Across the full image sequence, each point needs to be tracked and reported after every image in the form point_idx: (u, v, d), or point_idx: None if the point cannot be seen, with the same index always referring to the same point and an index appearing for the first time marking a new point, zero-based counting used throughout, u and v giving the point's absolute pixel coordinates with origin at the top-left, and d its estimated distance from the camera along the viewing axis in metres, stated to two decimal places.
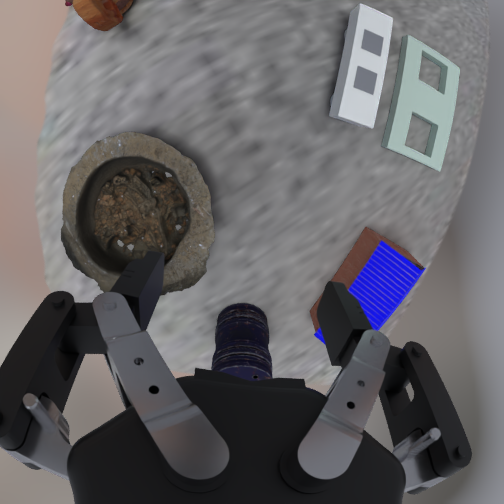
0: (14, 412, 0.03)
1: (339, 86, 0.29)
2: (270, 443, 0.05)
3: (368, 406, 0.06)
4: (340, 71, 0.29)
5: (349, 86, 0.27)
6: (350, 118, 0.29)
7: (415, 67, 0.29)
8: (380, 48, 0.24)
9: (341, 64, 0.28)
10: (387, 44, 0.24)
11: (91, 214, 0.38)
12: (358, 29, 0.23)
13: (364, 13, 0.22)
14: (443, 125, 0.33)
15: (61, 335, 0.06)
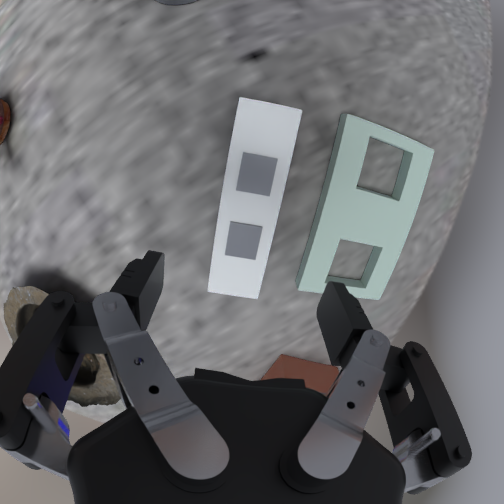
0: (14, 412, 0.03)
1: None
2: (270, 443, 0.05)
3: (368, 406, 0.06)
4: None
5: (219, 254, 0.25)
6: (224, 292, 0.27)
7: (353, 170, 0.26)
8: (270, 181, 0.21)
9: None
10: (285, 169, 0.21)
11: None
12: (231, 154, 0.21)
13: (246, 116, 0.19)
14: (391, 245, 0.30)
15: (61, 335, 0.06)
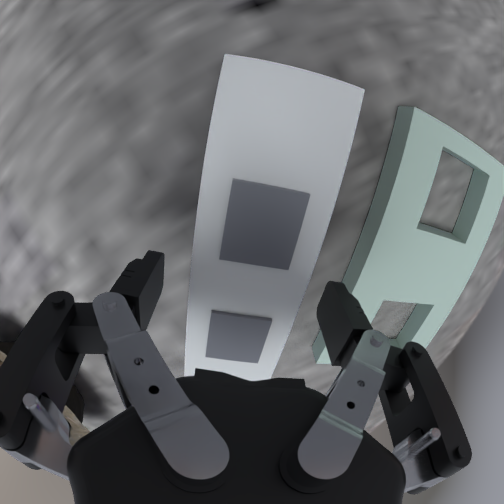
0: (14, 412, 0.03)
1: None
2: (270, 443, 0.05)
3: (368, 406, 0.06)
4: None
5: (196, 354, 0.14)
6: None
7: (416, 200, 0.15)
8: (290, 241, 0.10)
9: None
10: (323, 215, 0.10)
11: None
12: (208, 184, 0.09)
13: (241, 97, 0.08)
14: (444, 300, 0.19)
15: (61, 335, 0.06)
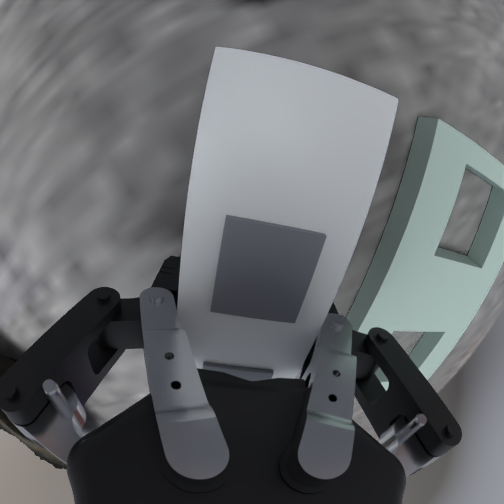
0: (31, 393, 0.04)
1: None
2: (270, 443, 0.05)
3: (350, 395, 0.06)
4: None
5: None
6: None
7: (436, 224, 0.13)
8: (299, 292, 0.08)
9: None
10: (340, 260, 0.08)
11: None
12: (194, 222, 0.07)
13: (237, 105, 0.06)
14: (456, 326, 0.17)
15: (99, 331, 0.07)
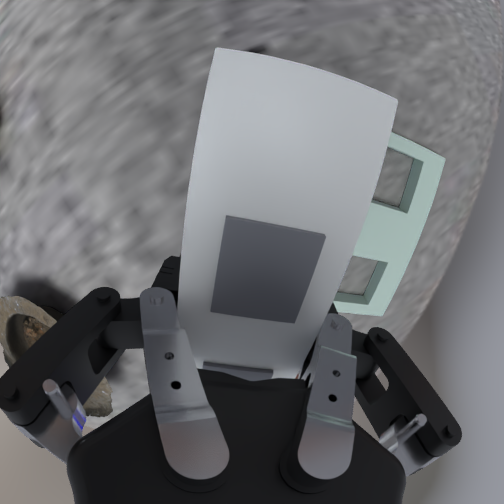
0: (31, 393, 0.04)
1: None
2: (270, 443, 0.05)
3: (349, 395, 0.06)
4: None
5: None
6: None
7: None
8: (299, 292, 0.08)
9: None
10: (340, 260, 0.08)
11: (23, 339, 0.33)
12: (194, 222, 0.07)
13: (237, 106, 0.06)
14: (397, 259, 0.28)
15: (99, 331, 0.07)
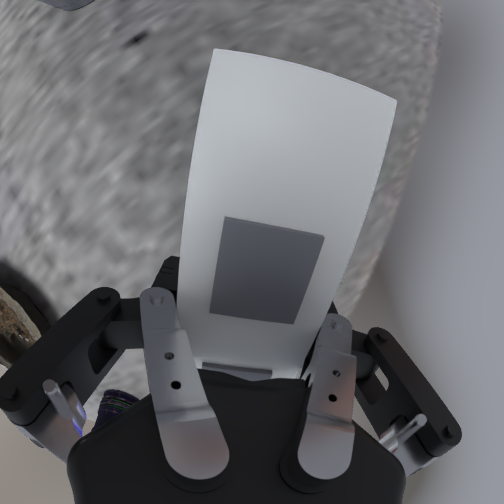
0: (31, 393, 0.04)
1: None
2: (270, 443, 0.05)
3: (349, 395, 0.06)
4: None
5: None
6: None
7: None
8: (297, 293, 0.08)
9: None
10: (339, 262, 0.08)
11: None
12: (192, 223, 0.07)
13: (235, 107, 0.06)
14: None
15: (99, 331, 0.07)
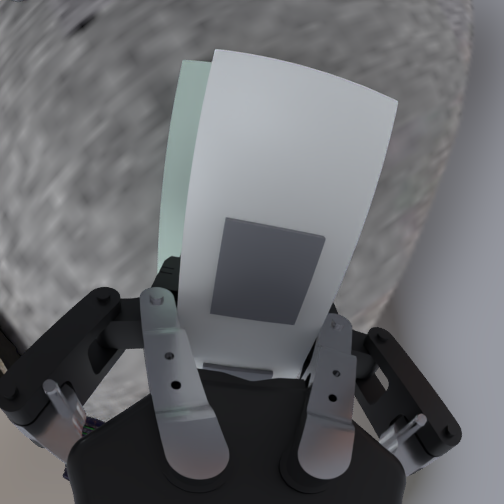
0: (31, 393, 0.04)
1: None
2: (270, 443, 0.05)
3: (349, 395, 0.06)
4: None
5: None
6: None
7: None
8: (299, 294, 0.08)
9: None
10: (340, 262, 0.08)
11: None
12: (193, 224, 0.07)
13: (236, 108, 0.06)
14: None
15: (99, 331, 0.07)
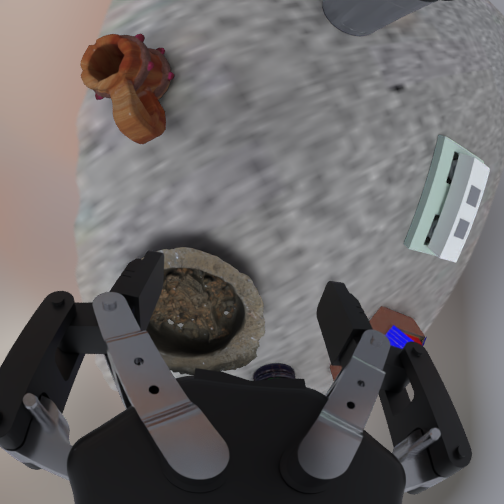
0: (14, 412, 0.03)
1: (442, 229, 0.37)
2: (270, 443, 0.05)
3: (368, 406, 0.06)
4: (444, 213, 0.37)
5: (451, 235, 0.35)
6: (445, 258, 0.37)
7: (445, 171, 0.35)
8: (477, 200, 0.32)
9: (445, 206, 0.37)
10: (481, 195, 0.32)
11: None
12: (468, 185, 0.31)
13: (475, 168, 0.30)
14: None
15: (61, 335, 0.06)
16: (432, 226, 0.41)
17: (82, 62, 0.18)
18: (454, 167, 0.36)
